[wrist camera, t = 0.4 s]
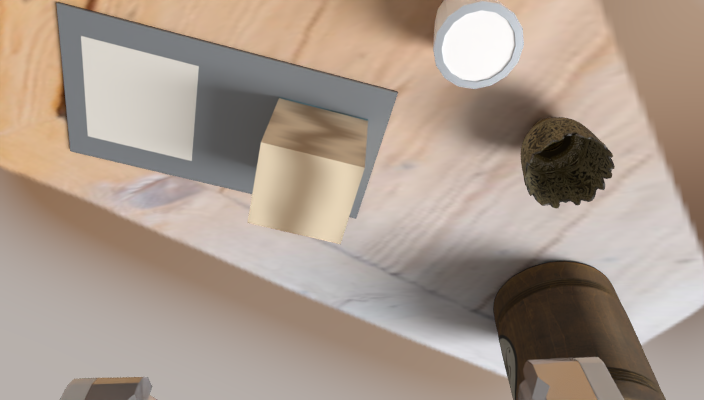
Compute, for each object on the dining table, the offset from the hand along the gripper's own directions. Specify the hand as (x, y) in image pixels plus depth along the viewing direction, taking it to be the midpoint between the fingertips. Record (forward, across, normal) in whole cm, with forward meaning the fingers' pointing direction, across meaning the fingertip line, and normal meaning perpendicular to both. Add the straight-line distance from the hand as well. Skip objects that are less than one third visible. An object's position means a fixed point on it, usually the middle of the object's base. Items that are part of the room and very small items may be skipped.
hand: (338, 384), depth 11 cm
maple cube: (+40, +3, +15) cm, 43 cm away
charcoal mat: (+41, +12, +12) cm, 44 cm away
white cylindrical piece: (+39, -12, +2) cm, 41 cm away
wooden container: (+39, -26, +38) cm, 60 cm away
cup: (+38, -20, +13) cm, 45 cm away
